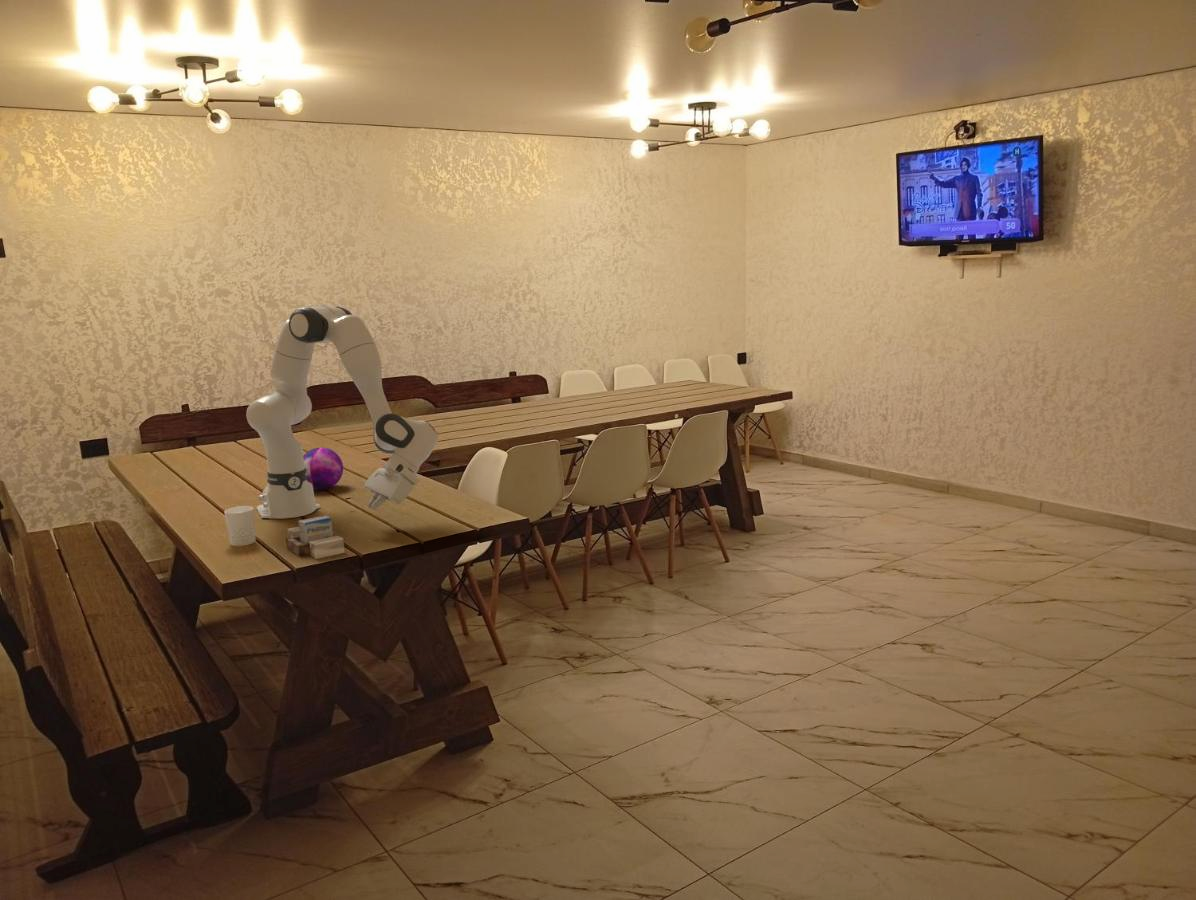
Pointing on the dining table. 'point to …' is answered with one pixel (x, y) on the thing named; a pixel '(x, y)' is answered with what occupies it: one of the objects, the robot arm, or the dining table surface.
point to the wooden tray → (314, 545)
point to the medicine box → (315, 529)
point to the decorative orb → (323, 468)
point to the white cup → (240, 525)
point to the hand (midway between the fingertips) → (370, 508)
